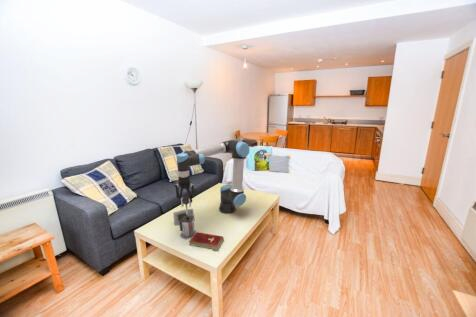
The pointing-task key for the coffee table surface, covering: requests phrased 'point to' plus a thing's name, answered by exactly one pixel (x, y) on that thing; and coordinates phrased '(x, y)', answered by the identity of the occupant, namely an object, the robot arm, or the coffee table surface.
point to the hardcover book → (206, 240)
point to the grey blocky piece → (187, 226)
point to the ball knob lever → (186, 201)
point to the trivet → (186, 237)
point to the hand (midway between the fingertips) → (186, 206)
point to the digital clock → (182, 215)
